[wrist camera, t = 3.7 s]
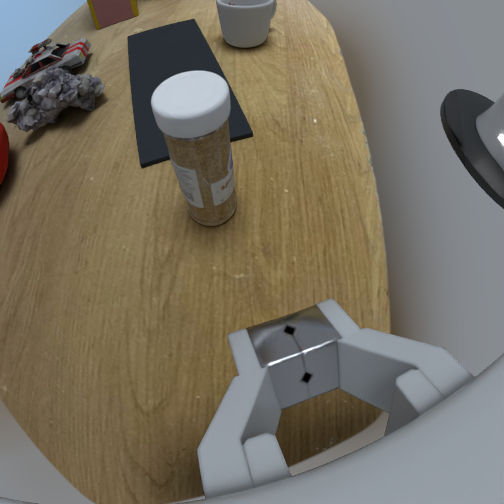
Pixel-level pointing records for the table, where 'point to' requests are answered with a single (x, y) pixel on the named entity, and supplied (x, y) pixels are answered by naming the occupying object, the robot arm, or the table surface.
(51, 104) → the mineral specimen
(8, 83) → the toy car
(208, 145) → the sprinkles bottle
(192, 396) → the table surface
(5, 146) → the tomato
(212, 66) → the mat
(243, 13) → the cup
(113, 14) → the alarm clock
